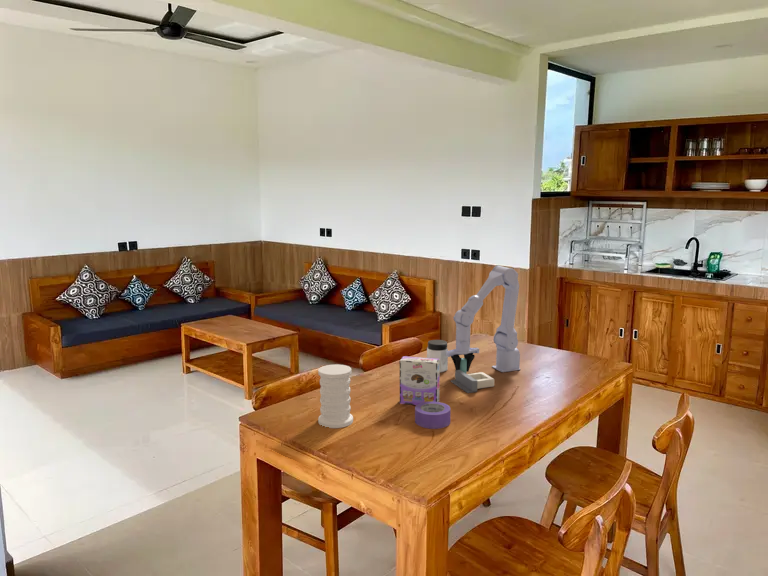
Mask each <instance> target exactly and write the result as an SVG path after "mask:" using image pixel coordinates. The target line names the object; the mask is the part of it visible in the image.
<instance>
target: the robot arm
mask: <svg viewBox="0 0 768 576" xmlns="http://www.w3.org/2000/svg"><path fill="white" fill-rule="evenodd" d="M488 274H489V275H488V277H487V279H486V280H485V281H484V283H483V285H482V286H481V288H480V289H479V291H478V292H477V293H476V294H474V295H471V296H469V297H468V298H467V299H468V300H467V301H466V302H465V304H464V305H463V306H462V307H461V309H458V310H457V311H456V312H455V313H454V316H452V317H453V321H454V322H455V348H454V349H450V350H448V351H446V356H447V357H448V358H451V360H452V363H453V364H454V368H455V369H454V370H460V363H461V359H462V358H466V359H467V372H469V371H470V367H471V365H472V362H473V361H474V359H475V357H476V356H475V354H480V348H479V347H471V325H472V324H473V322H474V319H475V316H476V314H477V313H478V312H479V311H480V309H481V308H482V306H483V305H484V300H485V298H486V297H488V295H489V294H490V293H491V292H492V291H493V290H494V289H495V287H497V286H499V287H500V286H502V287H503V288H504V298H503V304H502V305H503V306H502V310H501V311H502V313H501V320H500V325H499V326H497V328H496V331H495V333H494V335H493V343H494V345H495V347H496V354H495V355H496V358H495V365H492V366H491V368H492V369H495V370H496V371H499V372H501V373H507V372H513V371H520V370H521V367H520V366H521V365H520V364H521V353H520V350H519V348H517V347H518V344H519V340H518V332H517V331H516V329H515V322H516V321H515V320H516V313H517V307H518V299H519V290H520V282H519V279H518V278H519V273H518V272H517V270H516V269H514V268H512V267H506V266H502V265H499V264H498V265H495V266H494V267H493V268H492V269H491V271H489V273H488ZM460 356H463V357H460Z"/></svg>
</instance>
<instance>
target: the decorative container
mask: <svg viewBox="0 0 768 576" xmlns="http://www.w3.org/2000/svg"><path fill="white" fill-rule="evenodd" d="M317 371H318V372H317V373H318V376H320V379H319V385H320V389H319V393H320V398H319V402H320V405H321V406H320V410H319V412H320V415H319V416H318V421H317V422H318V424H319V426H321V425H322V426H321V427H323V426H325V427H324V428H326V427H329V428H328V429H341V428H345V427H348V426H351V425H352V424H353V422H354V416H353V414H351V413H350V412H351V409H352V408H351V405H350V403H351V400H352V398H351V396H350V394H351V391H352V390H351V387H350V384H351V378H350V376H351V375H352V367H350V366H349V365H346V364H338V363H337V364H327V365H323V366H320V367H319V368H318V369H317Z"/></svg>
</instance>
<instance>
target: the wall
mask: <svg viewBox="0 0 768 576" xmlns="http://www.w3.org/2000/svg"><path fill="white" fill-rule="evenodd" d="M467 374H468V373H467ZM467 374H466V373H464V372H463V371H461V370H456V369H454V379H452V380H450V382H451V383H452V385H455V386H456V387H458V388H459V389H461V390H462V391H464V392H465V393H467V394H471V393H477V392H478V389H477V380H476V379H474V378H472V377H471V376H469V375H467Z"/></svg>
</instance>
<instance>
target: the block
mask: <svg viewBox="0 0 768 576" xmlns="http://www.w3.org/2000/svg"><path fill="white" fill-rule="evenodd" d="M467 375H469V376H471V377H472V378H474V379H476V380H477V390H478V389H484V388H486V389H487V388H493V387H495V378H493V377H492V376H490V375H489V374H486V373H485V372H483V371H479V372H473V373H467Z"/></svg>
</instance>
